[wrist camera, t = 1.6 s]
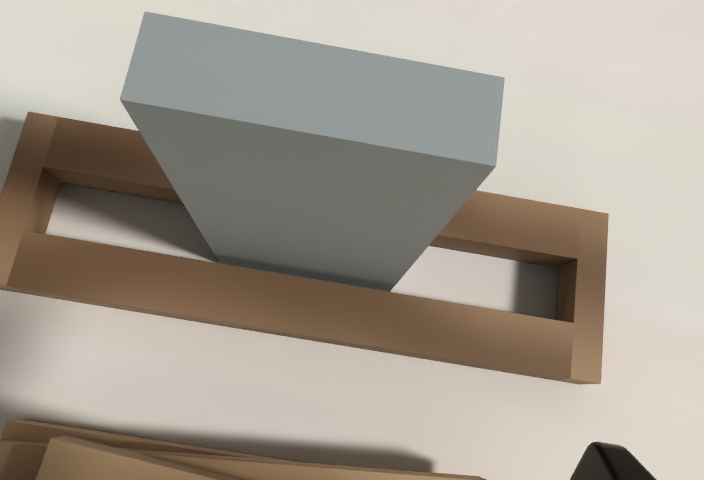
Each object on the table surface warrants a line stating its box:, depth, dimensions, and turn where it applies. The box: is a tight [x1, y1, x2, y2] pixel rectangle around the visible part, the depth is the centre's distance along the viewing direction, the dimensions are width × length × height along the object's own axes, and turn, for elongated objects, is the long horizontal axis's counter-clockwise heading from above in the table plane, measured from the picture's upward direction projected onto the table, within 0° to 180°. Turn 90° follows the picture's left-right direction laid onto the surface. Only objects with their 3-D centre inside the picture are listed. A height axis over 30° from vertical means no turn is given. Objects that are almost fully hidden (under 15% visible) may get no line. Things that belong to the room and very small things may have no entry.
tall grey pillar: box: [120, 12, 504, 292], centre depth 16 cm, size 2×6×12 cm, turn 81°
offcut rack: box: [0, 112, 608, 480], centre depth 19 cm, size 14×20×3 cm
